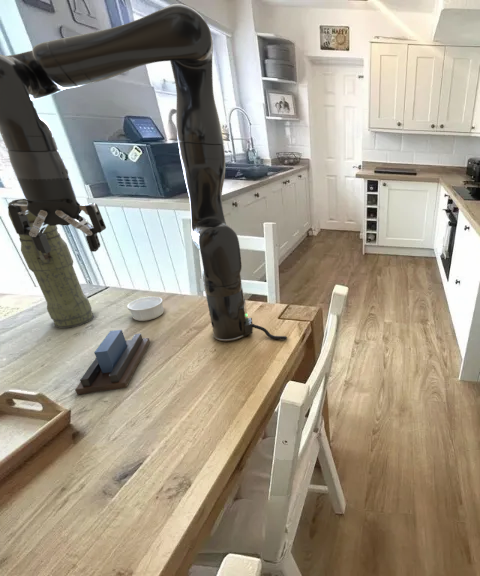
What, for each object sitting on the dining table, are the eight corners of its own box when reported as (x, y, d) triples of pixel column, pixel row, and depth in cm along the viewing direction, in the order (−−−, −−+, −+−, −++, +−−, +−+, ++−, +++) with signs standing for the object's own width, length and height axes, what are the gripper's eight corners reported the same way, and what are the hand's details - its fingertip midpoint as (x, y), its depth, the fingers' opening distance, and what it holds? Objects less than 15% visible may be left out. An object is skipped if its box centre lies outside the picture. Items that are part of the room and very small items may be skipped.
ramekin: (123, 319, 98) (119, 307, 96) (148, 305, 105) (145, 294, 104) (148, 324, 96) (144, 311, 94) (172, 310, 104) (169, 298, 102)
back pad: (128, 349, 83) (121, 329, 81) (114, 371, 76) (106, 350, 73) (117, 350, 82) (110, 330, 80) (102, 373, 75) (93, 352, 72)
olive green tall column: (91, 307, 102) (48, 194, 87) (97, 323, 95) (51, 203, 80) (52, 316, 97) (-1, 197, 81) (56, 334, 89) (-2, 206, 74)
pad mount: (150, 342, 89) (146, 331, 87) (126, 387, 73) (121, 375, 72) (110, 346, 86) (106, 335, 84) (77, 394, 71) (71, 382, 69)
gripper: (-19, 176, 59) (19, 259, 66) (78, 178, 64) (103, 255, 71) (8, 171, 65) (40, 247, 72) (94, 173, 70) (116, 244, 77)
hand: (71, 251), depth 72 cm, fingers open, 8 cm apart
